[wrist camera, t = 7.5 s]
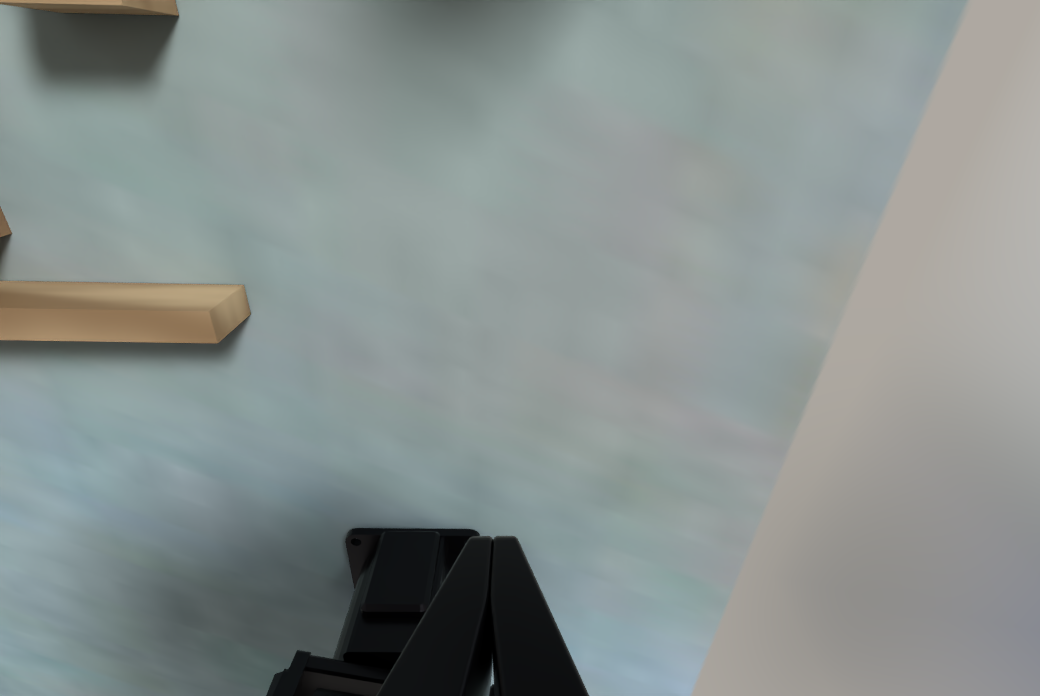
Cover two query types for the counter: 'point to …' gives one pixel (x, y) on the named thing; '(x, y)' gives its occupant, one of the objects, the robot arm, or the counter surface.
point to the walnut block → (4, 225)
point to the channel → (117, 305)
